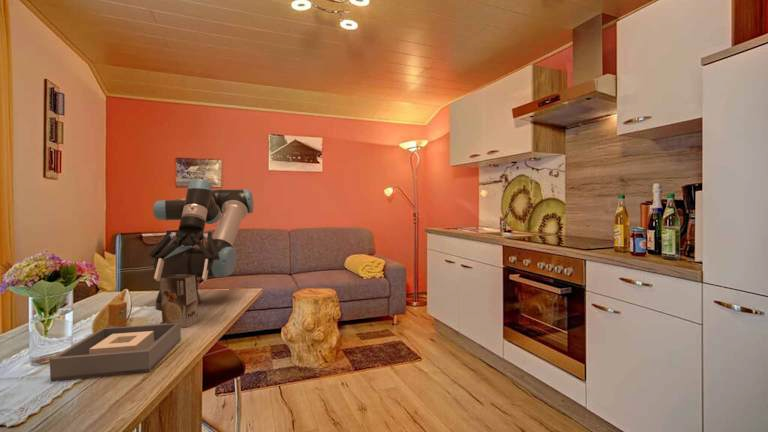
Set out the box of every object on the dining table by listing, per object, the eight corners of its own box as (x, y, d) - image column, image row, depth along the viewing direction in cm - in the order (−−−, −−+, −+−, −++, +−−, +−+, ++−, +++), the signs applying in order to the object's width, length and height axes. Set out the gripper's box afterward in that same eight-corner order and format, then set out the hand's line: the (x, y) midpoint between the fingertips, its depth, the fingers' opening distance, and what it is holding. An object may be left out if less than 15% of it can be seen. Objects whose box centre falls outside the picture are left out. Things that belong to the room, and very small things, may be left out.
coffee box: (200, 320, 119) (198, 273, 118) (187, 327, 112) (185, 277, 112) (174, 320, 120) (173, 273, 119) (160, 326, 113) (159, 277, 113)
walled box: (102, 345, 98) (102, 328, 98) (180, 339, 102) (180, 322, 102) (50, 381, 79) (49, 359, 79) (149, 372, 83) (148, 351, 83)
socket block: (112, 348, 95) (112, 333, 94) (154, 345, 97) (153, 330, 96) (89, 365, 85) (89, 349, 85) (136, 361, 87) (135, 345, 87)
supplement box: (117, 337, 104) (116, 304, 104) (108, 336, 105) (107, 303, 105) (128, 333, 108) (126, 301, 107) (118, 332, 108) (117, 300, 108)
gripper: (148, 213, 115) (131, 275, 105) (230, 216, 120) (221, 275, 110) (156, 223, 121) (140, 283, 111) (233, 226, 127) (225, 283, 117)
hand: (180, 279), depth 111 cm, fingers open, 13 cm apart
